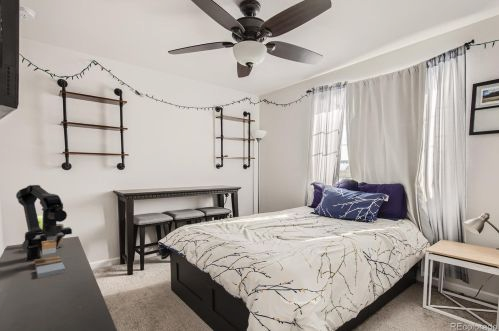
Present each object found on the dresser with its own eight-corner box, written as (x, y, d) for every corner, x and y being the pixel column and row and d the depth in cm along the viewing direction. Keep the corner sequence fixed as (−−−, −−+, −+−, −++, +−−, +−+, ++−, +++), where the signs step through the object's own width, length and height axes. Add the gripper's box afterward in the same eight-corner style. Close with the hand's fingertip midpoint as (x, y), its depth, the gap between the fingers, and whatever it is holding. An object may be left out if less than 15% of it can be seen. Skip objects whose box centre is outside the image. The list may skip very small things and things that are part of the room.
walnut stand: (34, 263, 129) (34, 259, 129) (58, 259, 136) (58, 255, 136) (35, 269, 122) (35, 265, 122) (61, 264, 129) (61, 260, 129)
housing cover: (41, 246, 130) (41, 241, 130) (54, 244, 134) (54, 239, 134) (42, 249, 125) (42, 244, 125) (56, 247, 128) (56, 242, 129)
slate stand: (36, 271, 120) (36, 267, 120) (62, 266, 127) (62, 262, 127) (37, 278, 113) (37, 273, 113) (65, 272, 119) (65, 268, 119)
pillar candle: (59, 244, 162) (60, 221, 162) (65, 247, 156) (66, 223, 156) (40, 248, 154) (41, 223, 154) (46, 251, 148) (46, 226, 148)
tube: (44, 246, 157) (45, 215, 157) (33, 247, 154) (34, 215, 155) (45, 243, 162) (46, 213, 162) (35, 245, 159) (36, 214, 159)
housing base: (41, 251, 130) (41, 246, 130) (54, 249, 134) (54, 244, 134) (42, 254, 125) (42, 249, 125) (56, 252, 128) (56, 247, 128)
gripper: (26, 224, 117) (24, 258, 117) (74, 219, 130) (73, 250, 130) (25, 220, 125) (24, 252, 125) (70, 216, 138) (69, 245, 138)
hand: (48, 249), depth 129 cm, fingers closed on housing base, housing cover, 5 cm apart
